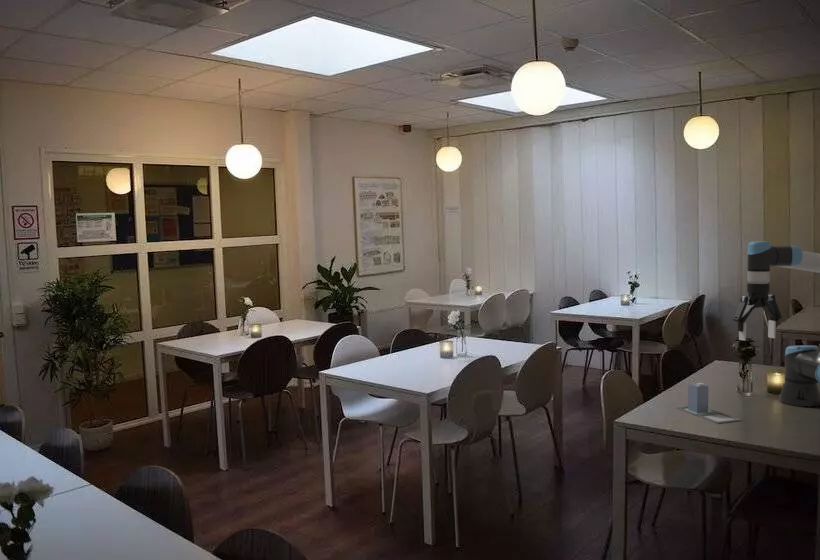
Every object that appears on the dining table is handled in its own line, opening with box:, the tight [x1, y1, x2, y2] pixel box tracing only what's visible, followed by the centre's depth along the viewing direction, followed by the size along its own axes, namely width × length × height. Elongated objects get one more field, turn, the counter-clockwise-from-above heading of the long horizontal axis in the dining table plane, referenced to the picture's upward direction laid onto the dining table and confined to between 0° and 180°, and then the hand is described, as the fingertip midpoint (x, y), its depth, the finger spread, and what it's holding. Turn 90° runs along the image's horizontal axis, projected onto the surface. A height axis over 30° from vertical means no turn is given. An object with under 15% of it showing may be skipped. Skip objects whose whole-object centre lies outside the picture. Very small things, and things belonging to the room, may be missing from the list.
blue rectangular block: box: [687, 382, 709, 413], centre depth 260 cm, size 5×5×11 cm
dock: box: [676, 405, 742, 425], centre depth 256 cm, size 16×22×2 cm
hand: (757, 339), depth 257 cm, fingers open, 13 cm apart
